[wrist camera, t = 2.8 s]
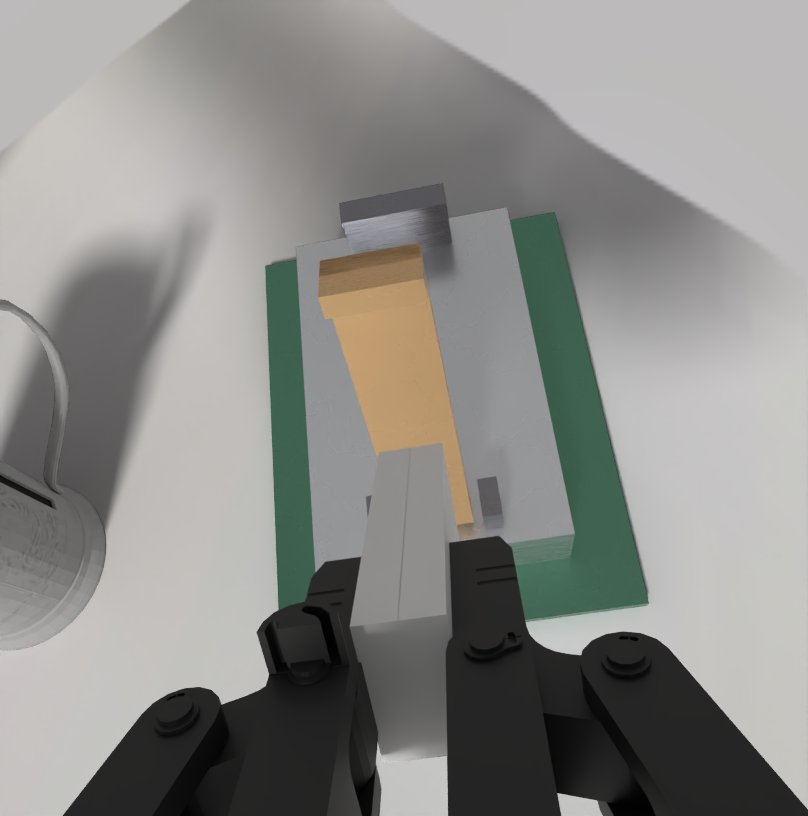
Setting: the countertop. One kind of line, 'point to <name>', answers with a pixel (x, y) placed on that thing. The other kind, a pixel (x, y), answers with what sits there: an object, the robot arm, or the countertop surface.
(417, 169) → the countertop surface
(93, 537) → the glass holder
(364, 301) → the tan rectangular bar
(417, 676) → the robot arm
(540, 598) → the green base fixture
